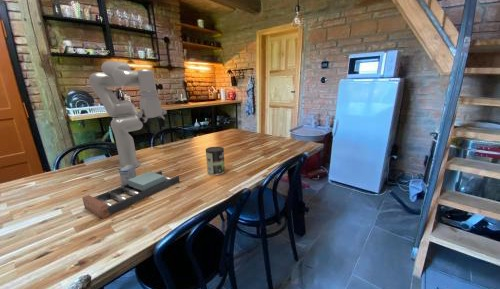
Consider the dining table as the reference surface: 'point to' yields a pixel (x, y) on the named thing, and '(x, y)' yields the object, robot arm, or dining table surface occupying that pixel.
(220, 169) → the coffee can
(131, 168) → the medicine box
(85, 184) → the dining table surface
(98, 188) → the dining table surface
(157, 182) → the slab
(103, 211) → the roller track
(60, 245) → the dining table surface
